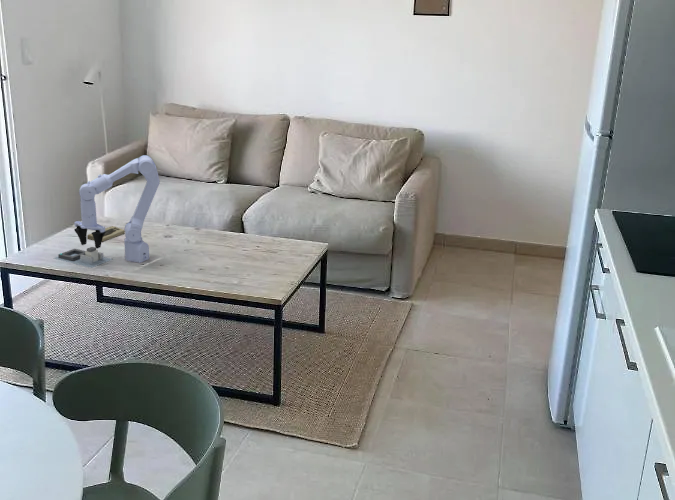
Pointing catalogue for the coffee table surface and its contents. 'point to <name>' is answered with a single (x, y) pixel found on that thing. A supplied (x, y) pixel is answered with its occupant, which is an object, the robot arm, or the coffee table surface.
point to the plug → (92, 253)
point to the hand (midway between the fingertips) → (91, 246)
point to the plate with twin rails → (90, 258)
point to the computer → (109, 233)
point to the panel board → (85, 263)
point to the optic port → (67, 254)
